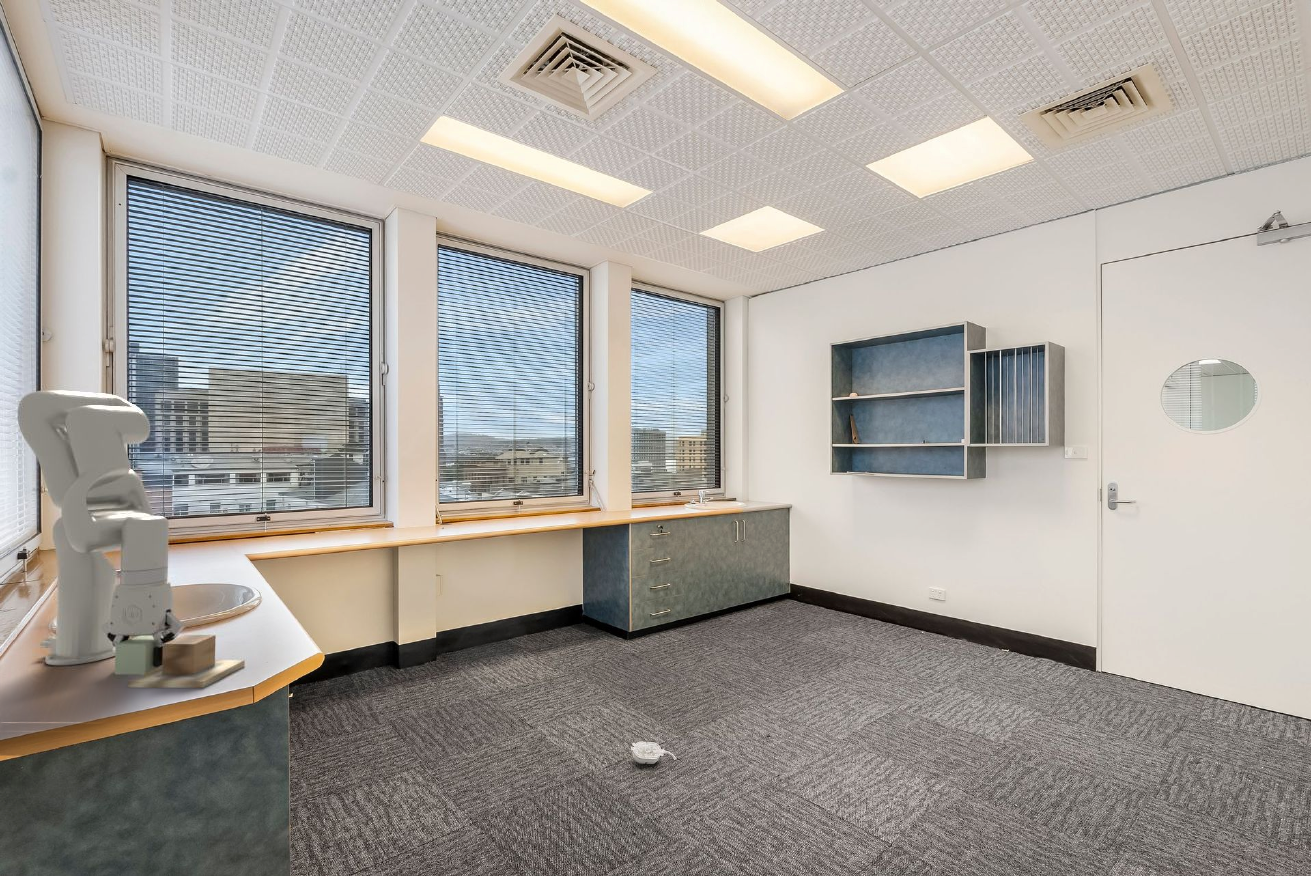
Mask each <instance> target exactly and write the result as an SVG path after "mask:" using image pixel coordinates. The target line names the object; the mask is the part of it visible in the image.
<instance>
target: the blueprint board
mask: <svg viewBox="0 0 1311 876" xmlns="http://www.w3.org/2000/svg"><path fill="white" fill-rule="evenodd" d="M245 663H246V661H245V660H244V659H215V665H214V666H212V667H210V668H208V669H206V670H204V671H202V672H200V673H198V674H196V675H162V667H159V668H157V669H155V670H152V671H150V672H148V673H146V674H140V675H139V676H137V677H135V678H131V679H130V680H128V686H127V687H128V688H145V689H146V688H147V689H148V688H151V689H152V688H153V689H154V688H157V689H161V688H163V689H164V688H167V689H168V688H171V689H172V688H174V689H177V688H179V689H182V688H183V689H185V688H186V689H201V688H203V689H204V688H205V687H207V686H209V685H211V684H213V683H215V682H217V681H219V680H220V679H221V680H222V678H224V677H227V676H228V675H229V676H230V675H231V674H232V673H234V672H236V671H238V670H240V669H241V668H243V667H245V665H246V664H245Z"/></svg>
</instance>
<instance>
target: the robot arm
mask: <svg viewBox="0 0 1311 876" xmlns="http://www.w3.org/2000/svg"><path fill="white" fill-rule="evenodd" d="M17 423H18V426H19V430H20V433H21V435H22V437H23V439H25V441H26V443H27V445H28V446H29V448H30V449H31V450H32V451H33V453H34V455H35V456H36V458H37V460H38V463H39V467H40V469H41V470H40V471H41V473H42V476H43V478H44V482H45V485H46V489H47V491H48V493H49V494H48V495H49V497H50V499H51V501H52V503H53V505H54V506H55V507H56V508H57V509H60V510H61V512H60V513H61V516H60V517H59V518H58V519H57V520H56V521H55V522H54V525H53V527H52V540H53V545H54V549H55V555H56V564H57V601H56V631H55V634H56V635H54V636H50V635H49V636H47V637H46V638H45V639H44V640H43V641H41V642H40V644H39V646H40V648H41V649H50V653H49V654H47V655H46V656H45V657H44V658H45V659H44V660H45V661H44V662H45V663H46V664H47V665H49V666H50V665H51V666H72V665H81V664H88V663H93V662H98V661H102V660H105V659H110V658H112V657H115V644H118V643H121V642H123V641H126V640H129V639H132V636H133V637H137V636H153V638H154V640H155V642H156V644H157V647H154V654H153V666H154V667H159V666H161V665H162V659H163V644H164V643H167V642H169V641H172V640H174V639H177V638H178V636H179V634H180V633H181V632H182V631H183V629H184V628H185V627H186V625H185V624H184V623H183V622H182V621H181V620H180V619H179V618H177V617H176V615H175V605H174V595H173V589H172V585H171V581H168V577H169V576H168V575H169V574H168V572H169V570H168V569H169V566H168V565H169V537H170V536H169V531H170V526H169V525H170V523H169V520H168V519H167V517H165V516H162V515H155V514H154V512H153V509H152V505H151V503H150V500H149V497H148V495H147V492H146V488H145V486H144V483H143V482H142V479H141V477H140V476H139V474H138V473H137V472H135V471H134V470H133V469H131V467H132V466H131V465H132V464H131V462H130V460H129V456H128V453H127V449H126V446H125V445H138V444H139V445H140V444H142V443H144V442H145V441H147V440H148V438H149V436H150V433H151V423H150V420H149V418H148V415H146V413H145V412H144V411H143V410H142V409H141V408H139V407H138V406H136V405H135V404H132V403H131V402H129V401H128V400H126V399H124V398H122V397H120V396H117V395H114V394H109V393H98V392H97V393H96V392H86V391H85V392H84V391H83V392H82V391H75V390H74V391H70V390H55V389H54V390H53V389H52V390H50V389H49V390H37V391H33V392H29V393H28V394H25V395H24V396H23V397H22V398H21V399H20V401H19V404H18V407H17ZM117 551H120V570H119V571H116V568H115V565H114V564H112V562H111V561H110V560H109V559H108V558H107V557H106V556H105V555H104V553H105V554H106V553H109V552H117ZM117 578H119V581H120V582H119V584H117V582H118V581H117V580H118V579H117ZM170 629H171V630H170ZM162 636H163V638H162Z"/></svg>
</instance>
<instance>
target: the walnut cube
mask: <svg viewBox="0 0 1311 876" xmlns="http://www.w3.org/2000/svg"><path fill="white" fill-rule="evenodd" d="M216 637H217V635H216V634H185V635H183V636H179V637H176V638H175V639H174V640H172V641H169V642H167V643H164V644H163V659H162V675H196V674H198V673H200V672H202V671H204V670H206V669H208V668H210V667H212V666H214V665H215V660H216Z"/></svg>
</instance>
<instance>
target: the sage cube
mask: <svg viewBox="0 0 1311 876" xmlns="http://www.w3.org/2000/svg"><path fill="white" fill-rule="evenodd" d="M161 636H162V635H161ZM162 638H163V636H162ZM154 647H157V644H156V642H155V640H154V638H153V636H152V635H150V636H133V637H131V638H130V639H129V640H126V641H123V642H121V643H118V644H115V656H114V675H143V674H146V673H148V672H150V671H152V670H155V669H157V668H159V667H162V665H161V666H159V667H154V666H153V654H154Z"/></svg>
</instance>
